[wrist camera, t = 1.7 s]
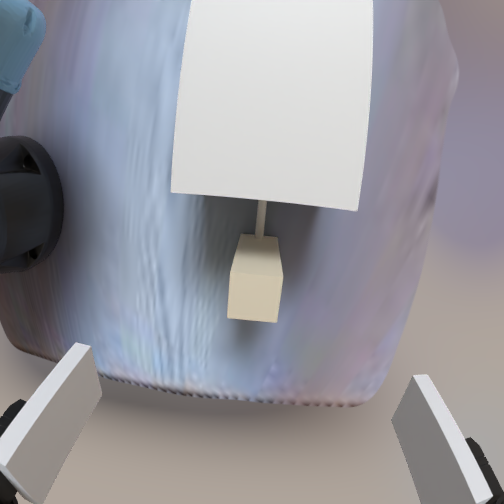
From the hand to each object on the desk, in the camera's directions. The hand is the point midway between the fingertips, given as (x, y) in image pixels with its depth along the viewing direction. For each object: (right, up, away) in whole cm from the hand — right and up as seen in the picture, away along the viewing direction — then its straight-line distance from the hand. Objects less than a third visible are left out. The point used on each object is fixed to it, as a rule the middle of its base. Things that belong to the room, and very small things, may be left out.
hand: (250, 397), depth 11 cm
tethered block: (+1, +14, +14) cm, 20 cm away
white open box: (+2, +18, +13) cm, 22 cm away
